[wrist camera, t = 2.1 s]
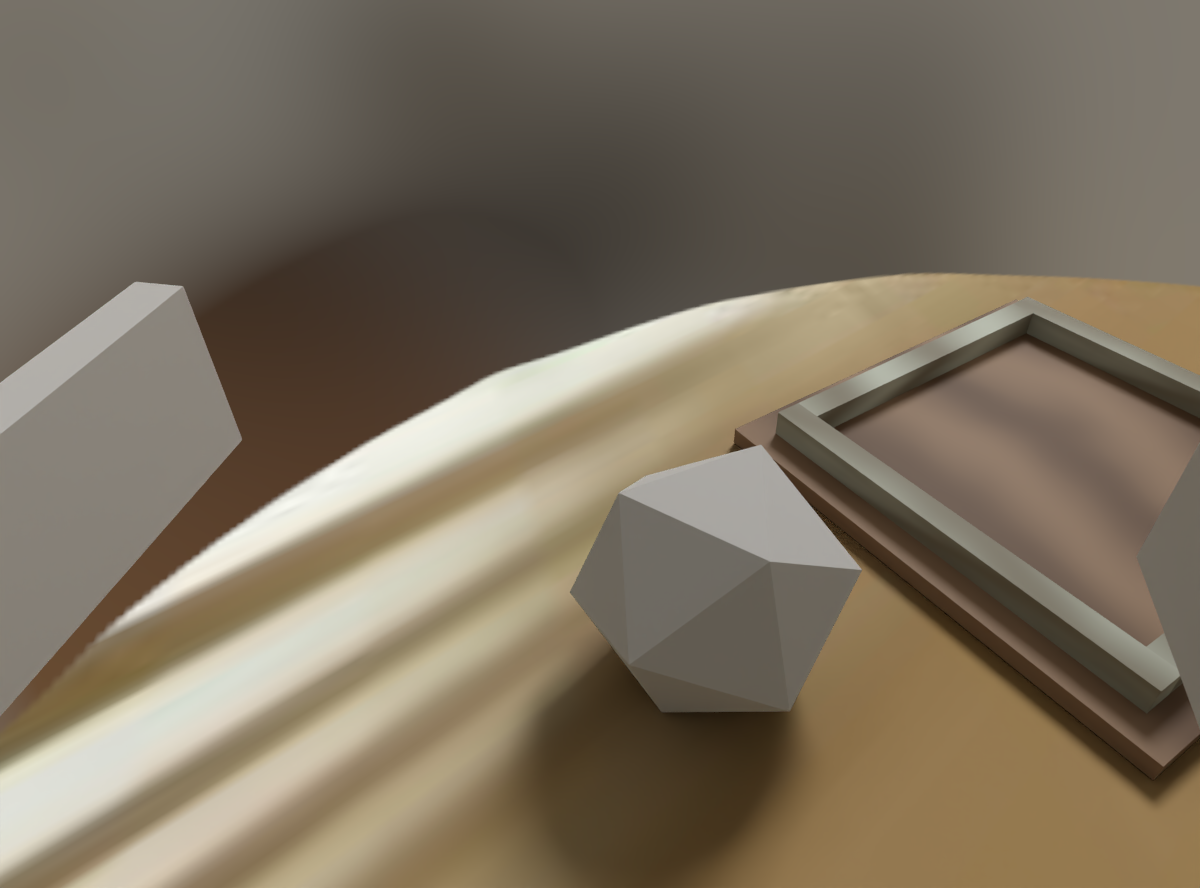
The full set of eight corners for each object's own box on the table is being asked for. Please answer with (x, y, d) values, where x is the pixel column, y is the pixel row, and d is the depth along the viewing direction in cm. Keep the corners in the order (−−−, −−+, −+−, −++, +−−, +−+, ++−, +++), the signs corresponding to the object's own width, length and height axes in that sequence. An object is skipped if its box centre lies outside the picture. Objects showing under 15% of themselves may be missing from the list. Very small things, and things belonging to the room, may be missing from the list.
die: (832, 796, 26) (948, 513, 25) (594, 778, 23) (714, 445, 21) (707, 667, 34) (791, 444, 32) (511, 638, 30) (597, 384, 29)
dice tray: (1153, 780, 26) (1179, 745, 24) (733, 442, 39) (736, 408, 38) (1443, 518, 33) (1474, 481, 32) (1011, 312, 47) (1022, 280, 45)
